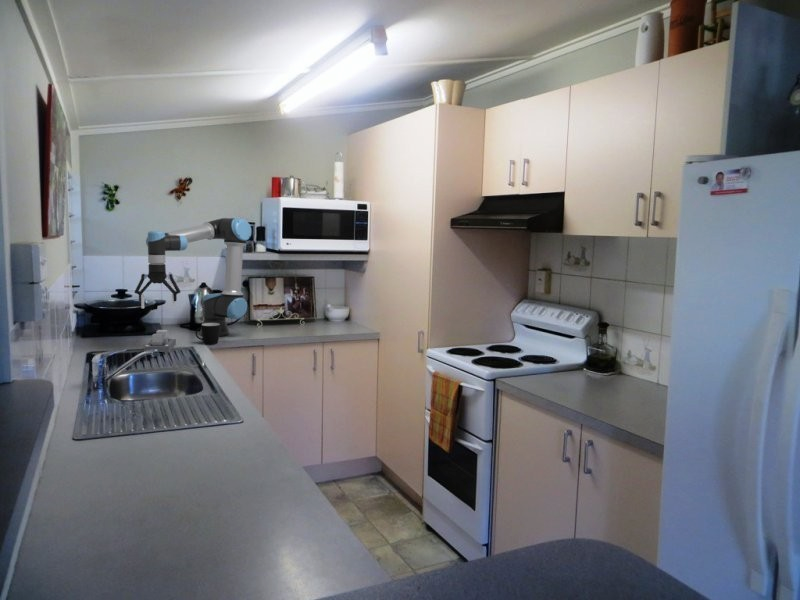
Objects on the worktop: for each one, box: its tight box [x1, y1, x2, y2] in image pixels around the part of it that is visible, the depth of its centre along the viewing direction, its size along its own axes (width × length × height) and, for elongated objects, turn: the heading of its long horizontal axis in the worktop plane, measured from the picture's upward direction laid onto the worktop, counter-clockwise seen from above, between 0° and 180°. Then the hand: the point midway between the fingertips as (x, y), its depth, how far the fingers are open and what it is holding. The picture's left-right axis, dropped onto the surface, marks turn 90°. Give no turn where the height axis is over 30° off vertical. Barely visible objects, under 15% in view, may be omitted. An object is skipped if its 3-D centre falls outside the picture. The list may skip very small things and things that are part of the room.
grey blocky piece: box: [143, 329, 177, 354], centre depth 290 cm, size 11×20×8 cm, turn 12°
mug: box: [195, 323, 220, 346], centre depth 304 cm, size 12×9×10 cm
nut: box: [151, 333, 165, 346], centre depth 285 cm, size 5×5×8 cm
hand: (158, 308), depth 283 cm, fingers open, 13 cm apart
